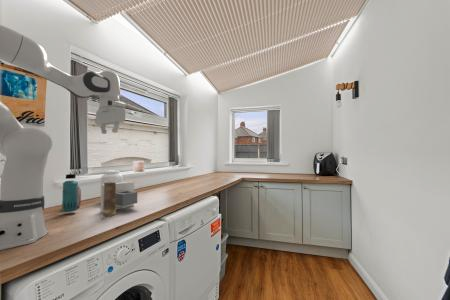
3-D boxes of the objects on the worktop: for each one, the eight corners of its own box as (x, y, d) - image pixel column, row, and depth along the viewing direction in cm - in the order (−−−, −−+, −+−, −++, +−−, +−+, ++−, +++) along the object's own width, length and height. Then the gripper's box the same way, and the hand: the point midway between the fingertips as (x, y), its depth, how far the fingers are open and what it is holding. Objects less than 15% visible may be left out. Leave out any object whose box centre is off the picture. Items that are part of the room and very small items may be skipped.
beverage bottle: (70, 211, 112) (71, 173, 112) (80, 212, 110) (81, 173, 111) (58, 214, 105) (59, 174, 106) (69, 215, 104) (70, 174, 105)
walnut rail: (107, 216, 102) (108, 183, 103) (103, 215, 104) (104, 182, 105) (115, 214, 106) (115, 182, 106) (111, 213, 108) (111, 182, 108)
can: (96, 202, 134) (97, 170, 134) (116, 199, 144) (116, 169, 145) (106, 205, 127) (107, 171, 127) (126, 201, 137) (126, 170, 138)
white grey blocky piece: (113, 215, 105) (114, 186, 105) (100, 211, 111) (101, 184, 111) (144, 207, 120) (144, 182, 121) (131, 205, 126) (131, 181, 127)
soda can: (72, 210, 115) (72, 187, 115) (61, 209, 116) (62, 187, 116) (83, 207, 121) (84, 186, 122) (73, 206, 123) (73, 185, 123)
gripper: (91, 106, 107) (91, 133, 107) (115, 100, 96) (115, 131, 96) (104, 108, 113) (104, 134, 112) (128, 103, 102) (127, 132, 101)
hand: (109, 133), depth 104 cm, fingers open, 8 cm apart
